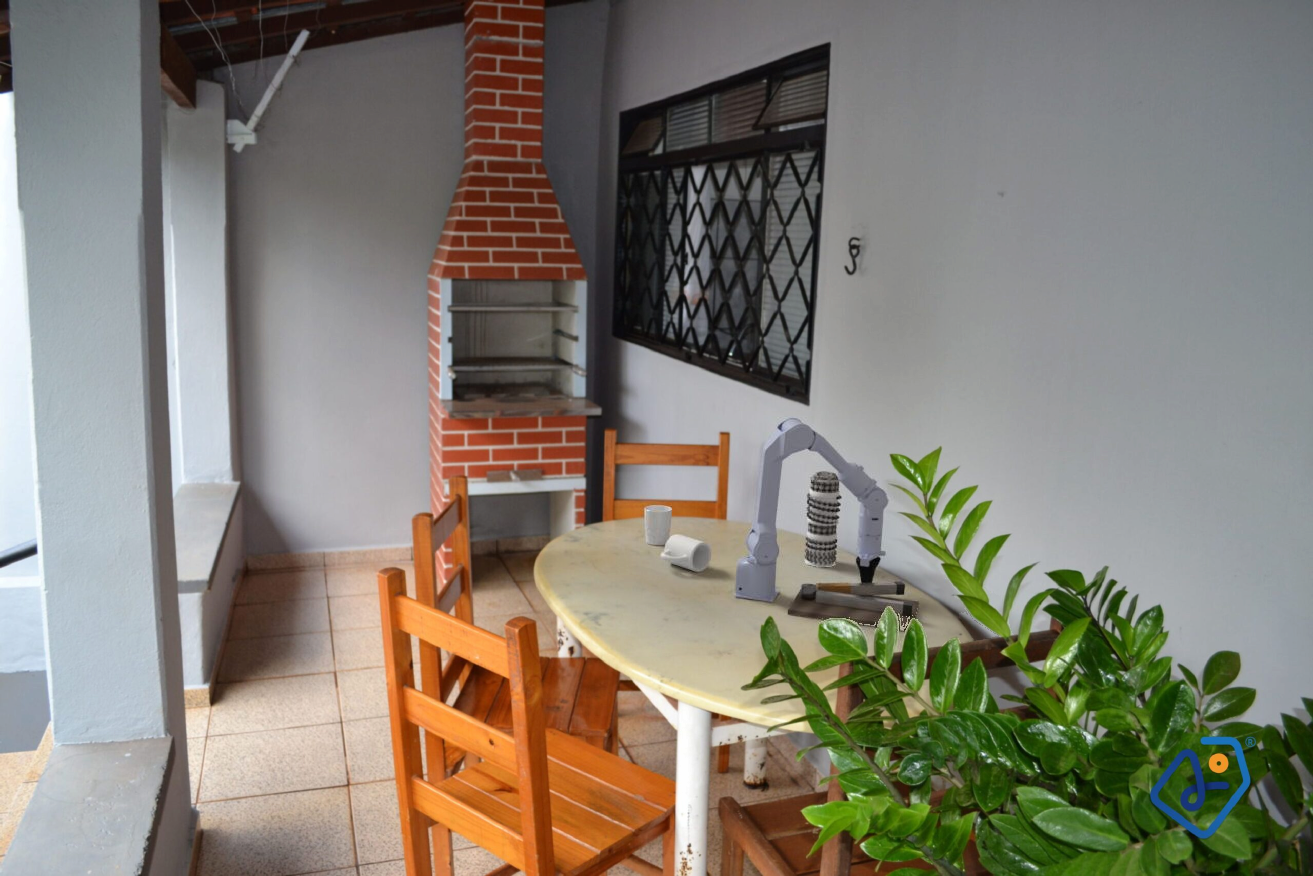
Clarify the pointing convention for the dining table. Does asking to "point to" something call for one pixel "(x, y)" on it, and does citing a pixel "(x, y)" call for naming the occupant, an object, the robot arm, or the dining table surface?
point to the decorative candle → (822, 519)
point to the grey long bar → (863, 602)
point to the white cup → (657, 524)
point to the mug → (687, 552)
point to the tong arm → (853, 589)
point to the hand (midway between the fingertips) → (866, 586)
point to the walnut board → (844, 611)
